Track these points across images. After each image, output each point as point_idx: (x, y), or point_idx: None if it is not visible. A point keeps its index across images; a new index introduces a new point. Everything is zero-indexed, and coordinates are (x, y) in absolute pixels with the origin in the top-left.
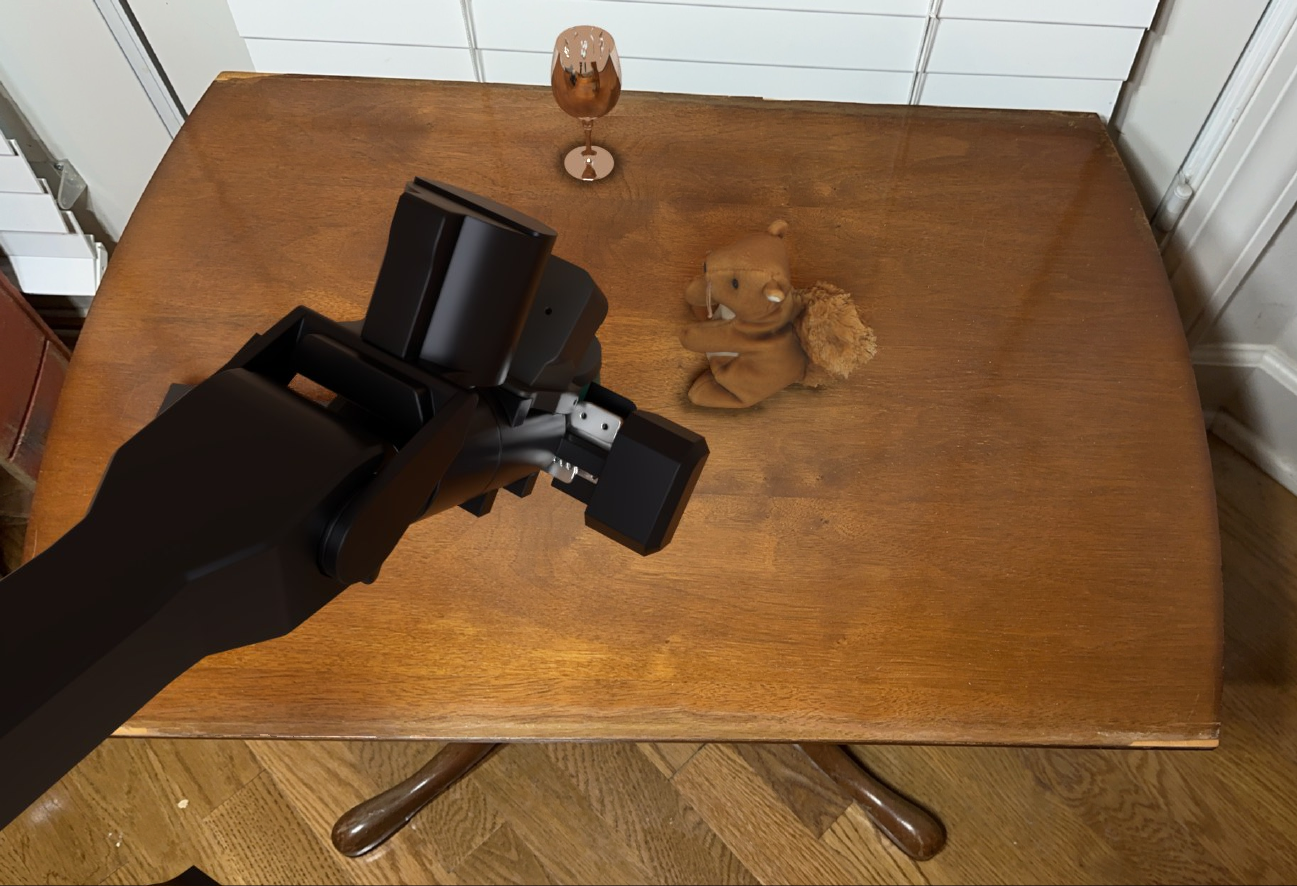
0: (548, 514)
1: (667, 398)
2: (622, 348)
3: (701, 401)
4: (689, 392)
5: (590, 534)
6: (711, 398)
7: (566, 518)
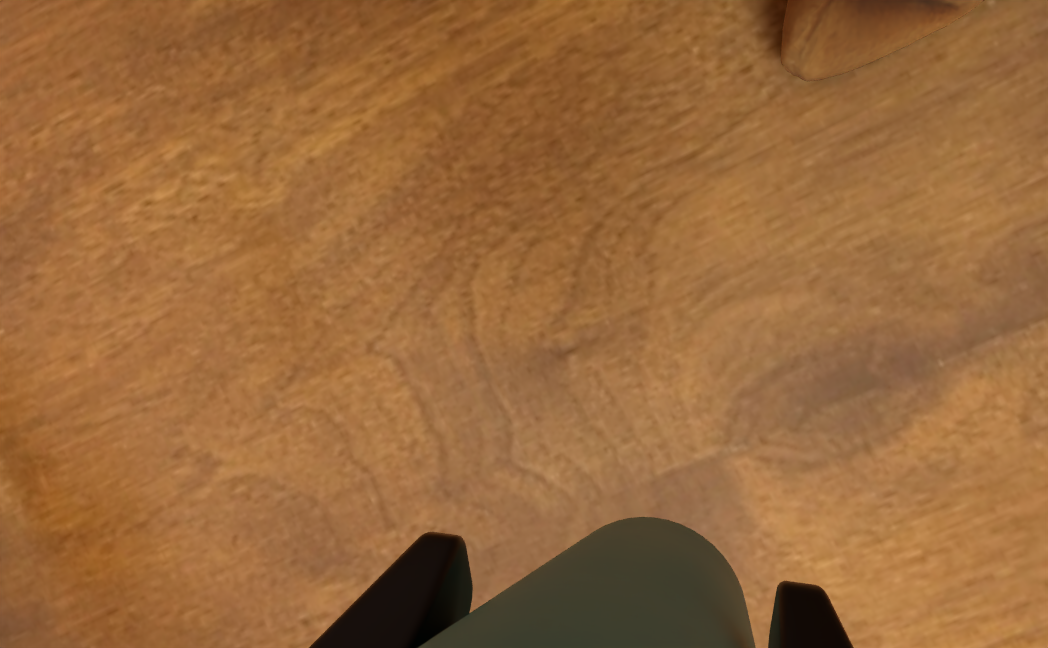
0: None
1: (723, 99)
2: (529, 13)
3: (836, 67)
4: (786, 56)
5: None
6: (864, 44)
7: None
